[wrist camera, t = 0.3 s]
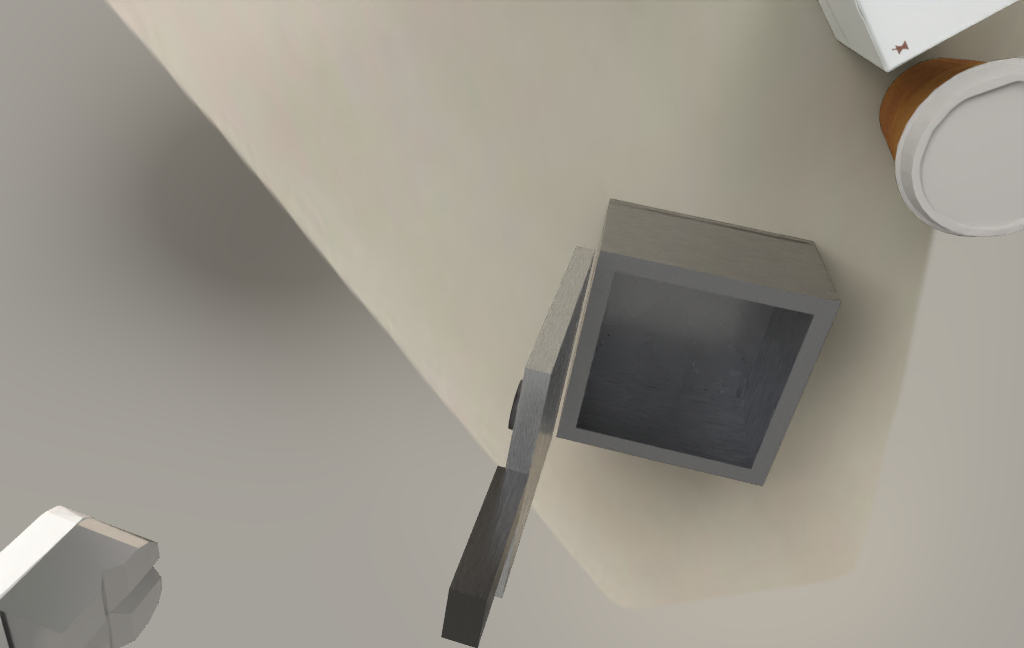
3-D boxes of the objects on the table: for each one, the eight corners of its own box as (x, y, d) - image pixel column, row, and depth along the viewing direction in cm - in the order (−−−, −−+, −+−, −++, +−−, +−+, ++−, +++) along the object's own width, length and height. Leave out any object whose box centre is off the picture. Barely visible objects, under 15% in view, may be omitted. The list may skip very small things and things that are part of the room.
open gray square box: (610, 198, 56) (600, 250, 47) (813, 241, 55) (840, 302, 46) (571, 365, 63) (556, 436, 54) (749, 406, 62) (762, 486, 53)
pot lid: (595, 250, 47) (560, 242, 47) (510, 487, 27) (452, 471, 27) (551, 438, 54) (522, 430, 55) (460, 732, 34) (414, 717, 35)
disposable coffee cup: (1040, 41, 46) (1148, 77, 36) (977, 189, 51) (1057, 258, 40) (881, 21, 47) (941, 49, 37) (833, 167, 52) (875, 229, 41)
